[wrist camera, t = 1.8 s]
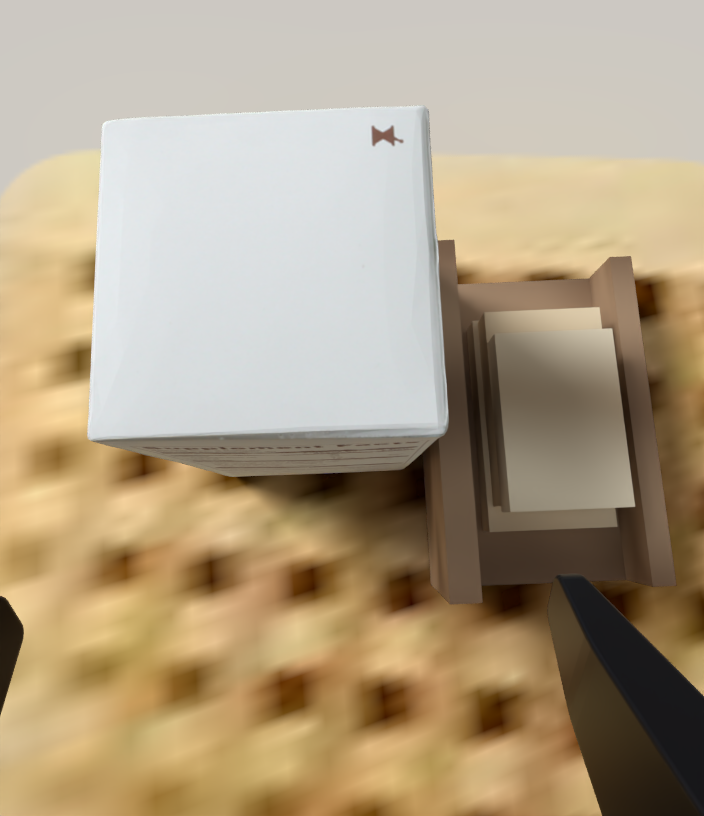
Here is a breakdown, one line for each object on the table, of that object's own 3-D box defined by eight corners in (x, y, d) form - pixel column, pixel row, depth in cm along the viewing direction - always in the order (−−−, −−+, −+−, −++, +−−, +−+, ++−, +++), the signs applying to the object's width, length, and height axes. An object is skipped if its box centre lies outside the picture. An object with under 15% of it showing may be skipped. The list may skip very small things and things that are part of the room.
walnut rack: (635, 576, 22) (712, 593, 17) (431, 584, 22) (450, 604, 18) (598, 287, 25) (657, 230, 20) (412, 295, 25) (425, 241, 20)
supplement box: (229, 309, 25) (95, 102, 12) (400, 304, 25) (440, 91, 12) (226, 481, 23) (72, 444, 11) (407, 476, 23) (459, 435, 11)
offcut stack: (603, 525, 22) (650, 528, 18) (482, 531, 22) (506, 534, 18) (580, 325, 23) (619, 291, 20) (466, 330, 23) (485, 297, 20)
